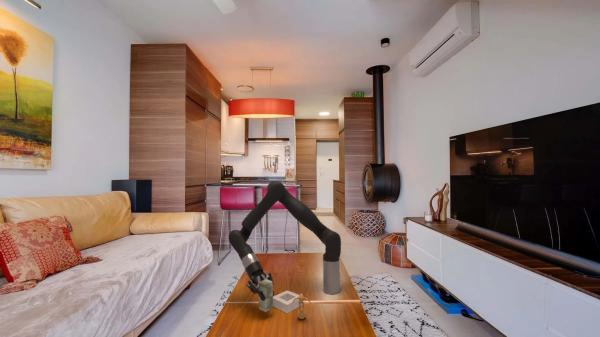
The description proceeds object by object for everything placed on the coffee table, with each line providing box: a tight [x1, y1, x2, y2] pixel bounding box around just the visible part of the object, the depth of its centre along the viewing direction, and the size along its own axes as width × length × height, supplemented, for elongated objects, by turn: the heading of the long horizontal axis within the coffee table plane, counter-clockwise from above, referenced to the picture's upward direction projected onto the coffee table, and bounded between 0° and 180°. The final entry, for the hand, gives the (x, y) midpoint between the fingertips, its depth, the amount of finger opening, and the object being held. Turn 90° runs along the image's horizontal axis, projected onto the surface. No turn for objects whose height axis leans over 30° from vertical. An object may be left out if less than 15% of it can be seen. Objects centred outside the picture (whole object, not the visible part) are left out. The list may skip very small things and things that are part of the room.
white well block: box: [273, 290, 303, 314], centre depth 128 cm, size 11×11×4 cm
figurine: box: [292, 292, 312, 320], centre depth 115 cm, size 8×6×12 cm
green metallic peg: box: [258, 279, 274, 313], centre depth 118 cm, size 4×4×12 cm
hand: (268, 297), depth 117 cm, fingers closed on green metallic peg, 4 cm apart
